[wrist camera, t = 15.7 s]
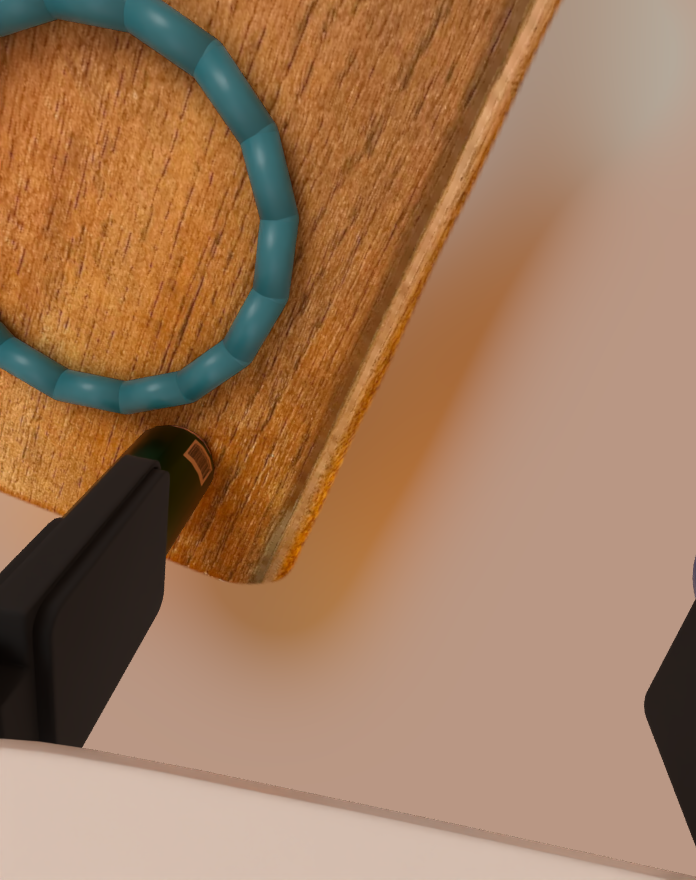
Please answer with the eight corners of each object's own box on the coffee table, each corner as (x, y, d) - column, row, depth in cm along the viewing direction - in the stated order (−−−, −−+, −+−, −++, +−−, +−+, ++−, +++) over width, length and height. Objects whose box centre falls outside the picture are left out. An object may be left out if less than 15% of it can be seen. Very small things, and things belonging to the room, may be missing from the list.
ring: (328, 22, 30) (322, 15, 28) (273, 435, 40) (266, 449, 38) (-120, -62, 31) (-154, -75, 29) (-67, 365, 40) (-90, 376, 38)
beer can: (181, 405, 39) (90, 505, 29) (234, 471, 41) (166, 590, 30) (119, 445, 41) (12, 554, 30) (172, 507, 43) (87, 631, 32)
